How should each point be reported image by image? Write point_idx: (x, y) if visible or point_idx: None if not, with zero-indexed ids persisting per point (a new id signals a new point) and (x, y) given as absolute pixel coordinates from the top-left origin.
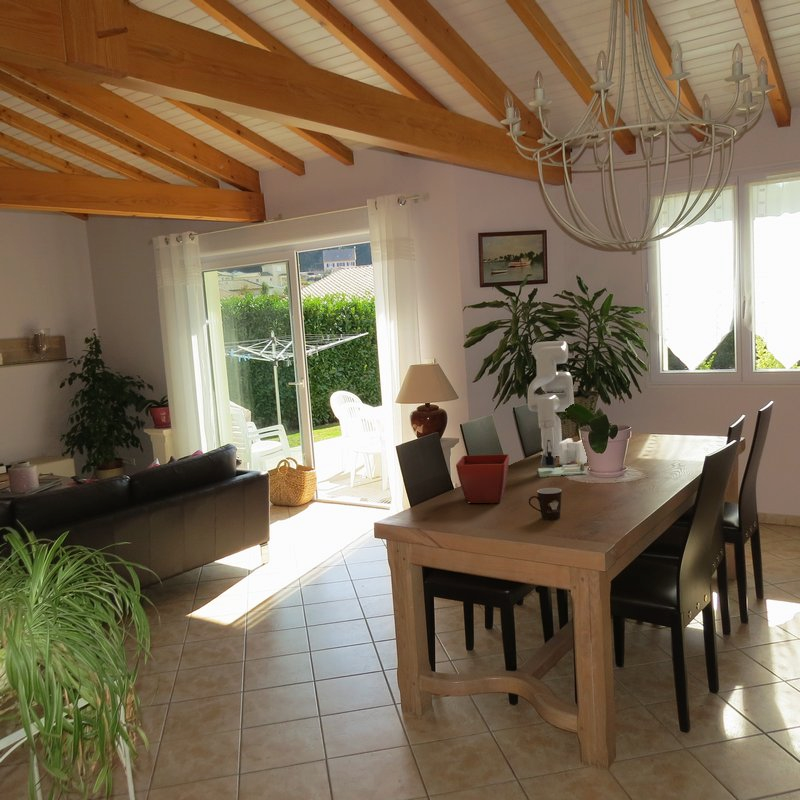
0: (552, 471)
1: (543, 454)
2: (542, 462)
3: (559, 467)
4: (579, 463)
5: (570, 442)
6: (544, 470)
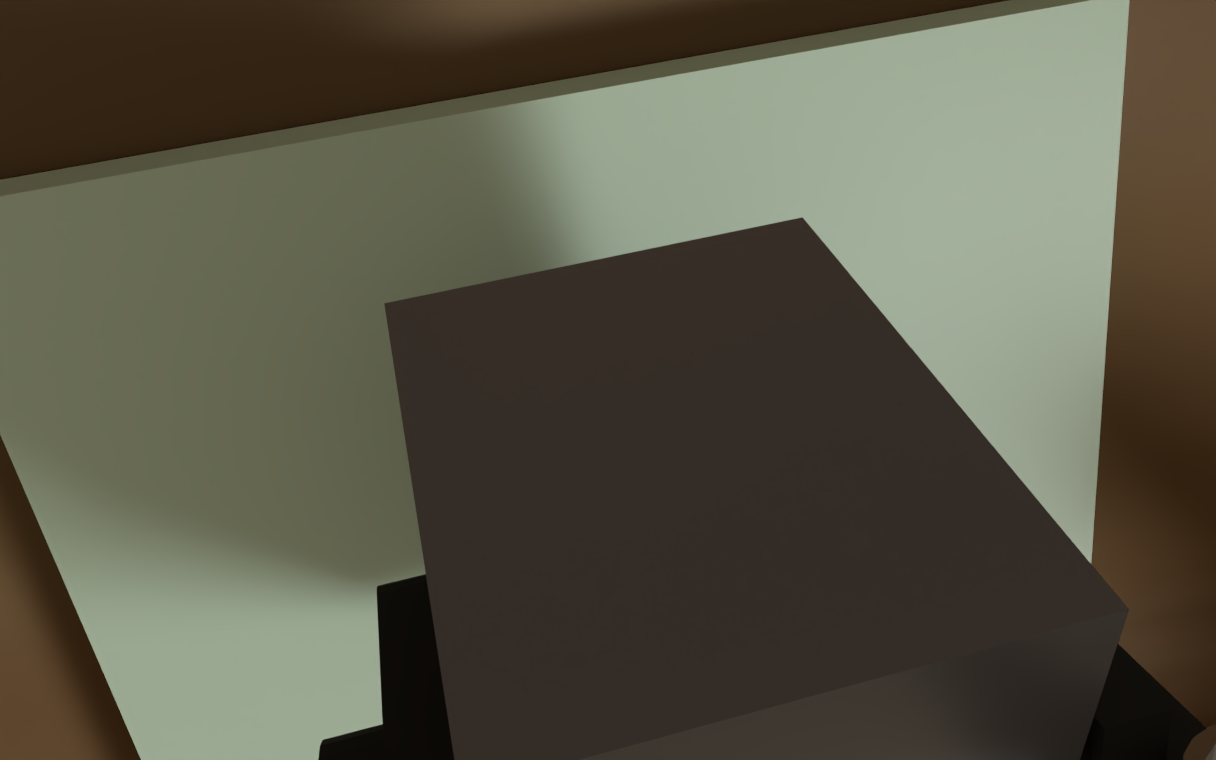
0: None
1: (1083, 673)
2: (411, 467)
3: None
4: None
5: None
6: None
